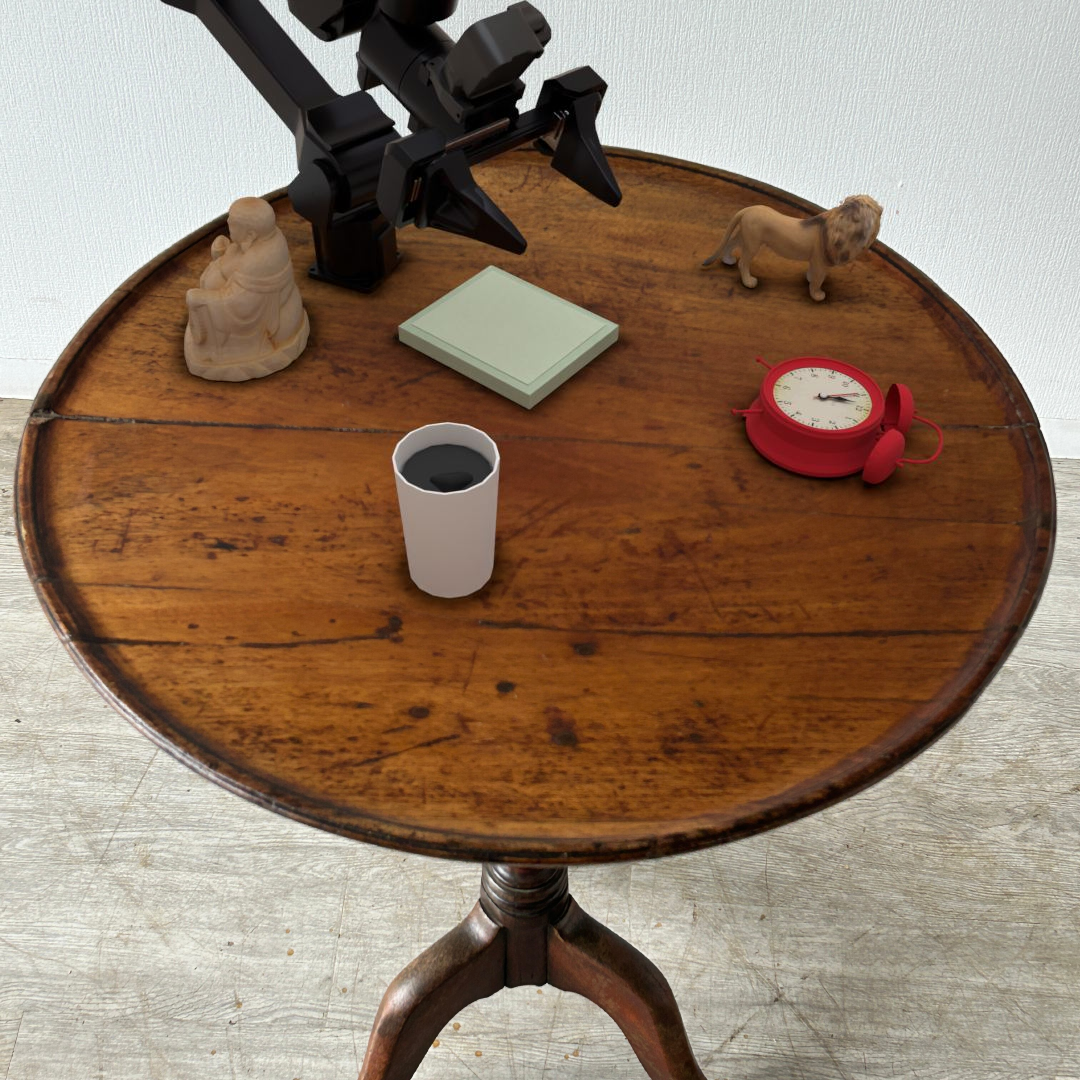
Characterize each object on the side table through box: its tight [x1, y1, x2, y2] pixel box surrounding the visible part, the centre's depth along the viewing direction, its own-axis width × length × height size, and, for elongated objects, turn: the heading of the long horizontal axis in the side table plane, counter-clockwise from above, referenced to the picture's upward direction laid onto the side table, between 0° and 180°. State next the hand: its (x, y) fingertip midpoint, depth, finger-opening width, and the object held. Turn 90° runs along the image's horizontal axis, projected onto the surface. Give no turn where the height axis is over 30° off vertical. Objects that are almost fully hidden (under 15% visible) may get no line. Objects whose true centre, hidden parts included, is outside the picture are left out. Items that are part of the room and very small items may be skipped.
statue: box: [183, 196, 311, 382], centre depth 90 cm, size 12×14×10 cm
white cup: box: [391, 421, 501, 599], centre depth 73 cm, size 7×7×10 cm
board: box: [397, 264, 620, 410], centre depth 94 cm, size 14×12×2 cm
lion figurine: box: [700, 194, 884, 302], centre depth 99 cm, size 15×5×9 cm, turn 79°
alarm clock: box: [730, 356, 944, 485], centre depth 85 cm, size 10×6×15 cm
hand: (573, 225), depth 77 cm, fingers open, 9 cm apart
